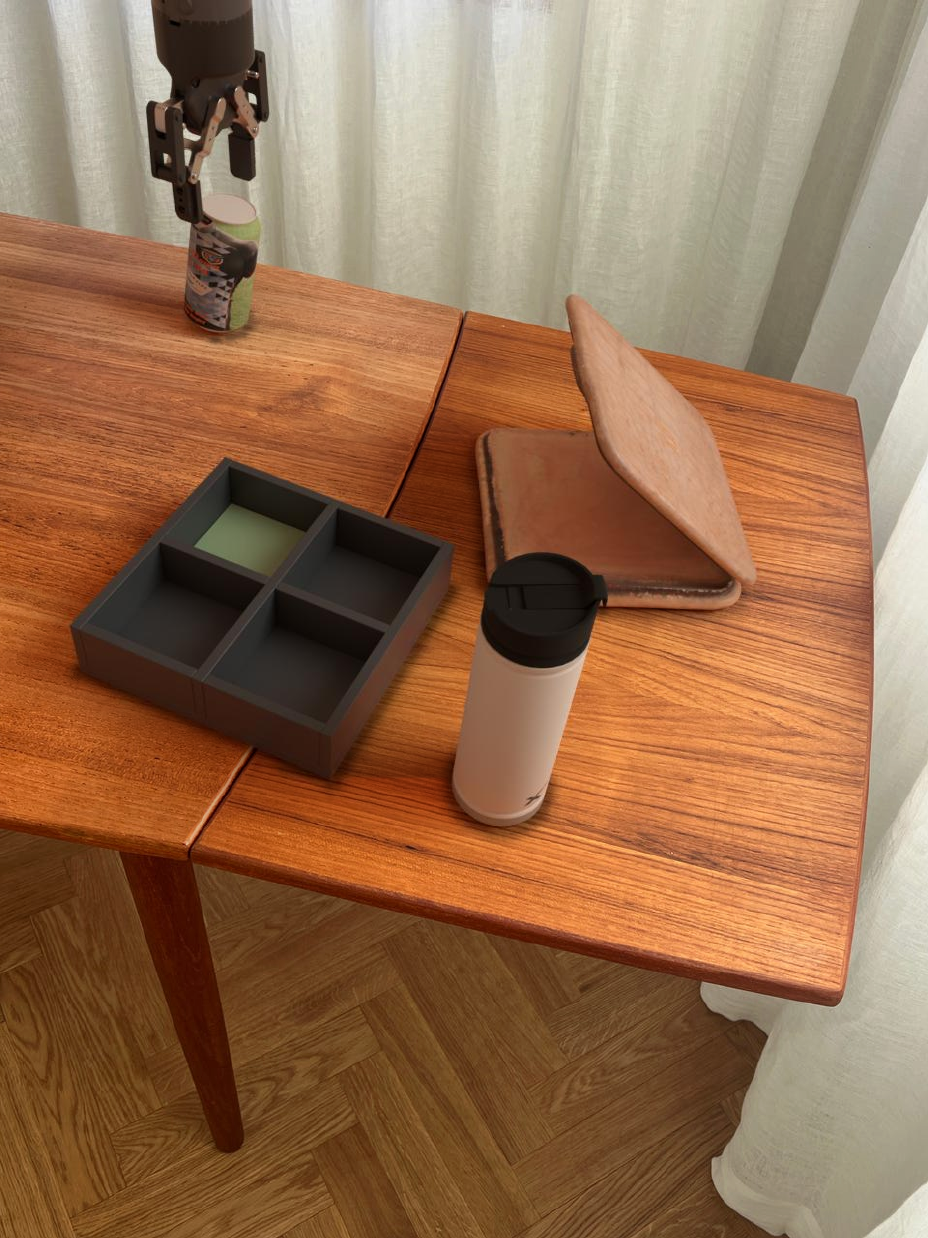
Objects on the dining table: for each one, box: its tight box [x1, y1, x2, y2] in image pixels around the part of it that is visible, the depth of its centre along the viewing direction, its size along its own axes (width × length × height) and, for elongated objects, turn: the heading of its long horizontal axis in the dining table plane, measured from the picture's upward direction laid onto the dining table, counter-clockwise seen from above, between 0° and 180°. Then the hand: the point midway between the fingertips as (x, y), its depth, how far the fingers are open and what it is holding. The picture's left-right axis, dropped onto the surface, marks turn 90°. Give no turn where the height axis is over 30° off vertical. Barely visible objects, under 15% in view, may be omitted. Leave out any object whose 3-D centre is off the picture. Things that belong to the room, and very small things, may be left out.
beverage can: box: [183, 191, 262, 333], centre depth 101 cm, size 6×7×12 cm
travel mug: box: [451, 552, 608, 828], centre depth 67 cm, size 6×7×20 cm
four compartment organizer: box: [69, 456, 456, 781], centre depth 79 cm, size 19×19×5 cm
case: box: [474, 294, 757, 611], centre depth 86 cm, size 20×21×16 cm
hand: (217, 198), depth 96 cm, fingers open, 8 cm apart
